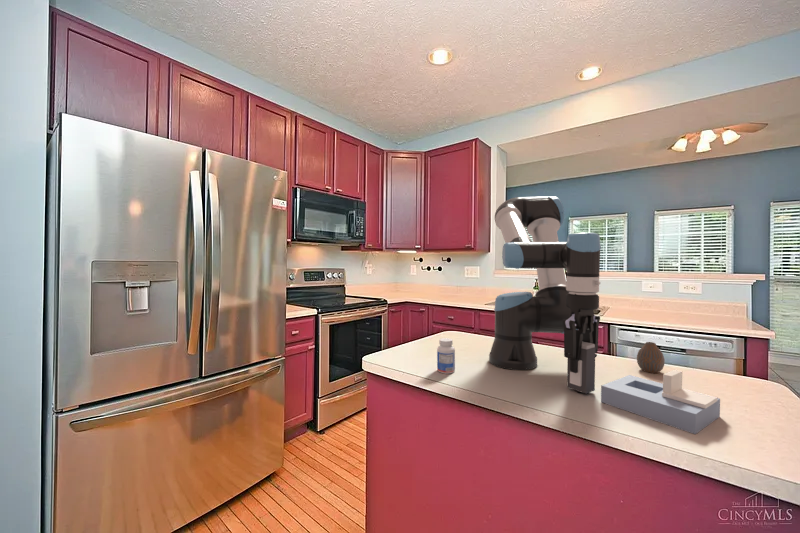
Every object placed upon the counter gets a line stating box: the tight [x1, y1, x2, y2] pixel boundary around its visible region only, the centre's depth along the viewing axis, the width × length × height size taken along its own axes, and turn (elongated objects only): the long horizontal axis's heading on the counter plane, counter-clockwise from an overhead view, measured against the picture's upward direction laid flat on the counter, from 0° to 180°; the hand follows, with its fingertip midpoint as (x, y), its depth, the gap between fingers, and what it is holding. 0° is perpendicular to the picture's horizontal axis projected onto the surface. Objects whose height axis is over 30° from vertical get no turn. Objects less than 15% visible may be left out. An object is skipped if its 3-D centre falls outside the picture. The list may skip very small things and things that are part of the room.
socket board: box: [600, 374, 721, 435], centre depth 79 cm, size 18×14×4 cm
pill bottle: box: [436, 337, 456, 375], centre depth 105 cm, size 6×5×10 cm
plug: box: [566, 341, 596, 394], centre depth 89 cm, size 5×4×12 cm
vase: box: [636, 341, 666, 374], centre depth 105 cm, size 7×7×9 cm
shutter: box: [662, 369, 719, 409], centre depth 74 cm, size 8×7×5 cm
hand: (580, 382), depth 89 cm, fingers closed on plug, 4 cm apart
